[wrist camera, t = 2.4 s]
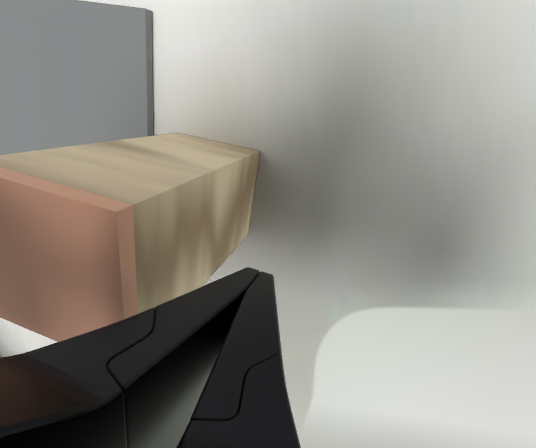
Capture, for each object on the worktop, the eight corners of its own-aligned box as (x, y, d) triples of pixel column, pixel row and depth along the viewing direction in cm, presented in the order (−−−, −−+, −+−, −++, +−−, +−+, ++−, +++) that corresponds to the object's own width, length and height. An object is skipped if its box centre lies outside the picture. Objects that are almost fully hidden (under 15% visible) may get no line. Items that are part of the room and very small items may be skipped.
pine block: (248, 234, 17) (127, 371, 8) (174, 213, 18) (-5, 315, 9) (260, 150, 15) (115, 211, 6) (176, 132, 16) (-54, 161, 7)
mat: (154, 277, 20) (150, 281, 20) (7, 227, 23) (1, 230, 23) (151, 11, 14) (145, 8, 13) (-53, -14, 17) (-65, -18, 16)
